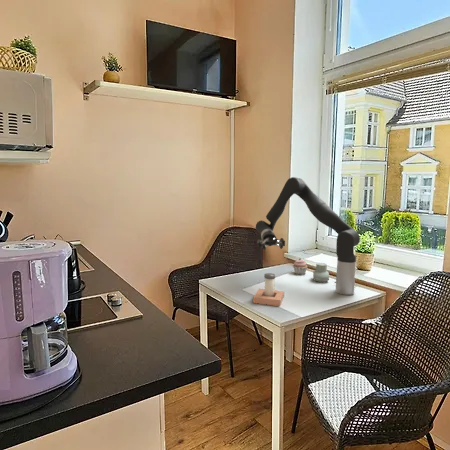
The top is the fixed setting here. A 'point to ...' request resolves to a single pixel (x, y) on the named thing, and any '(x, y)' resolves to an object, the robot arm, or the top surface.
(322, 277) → the air freshener
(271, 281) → the canister
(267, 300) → the socket block
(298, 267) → the cupcake
